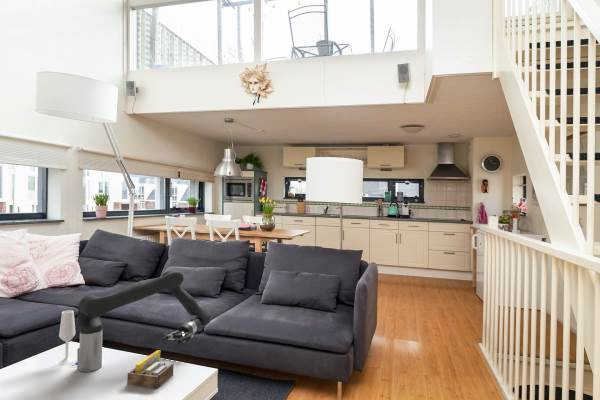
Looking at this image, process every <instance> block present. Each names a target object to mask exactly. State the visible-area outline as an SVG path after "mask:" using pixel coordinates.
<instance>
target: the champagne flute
mask: <svg viewBox="0 0 600 400" xmlns="http://www.w3.org/2000/svg"><path fill="white" fill-rule="evenodd" d="M74 313H75V312H74V310H72V309H70V310H69V309H68V310H64V311H62V312H61V319H60V324H59V325H60V326H59V334H58V337H59V339H61V340H62V341H63V342H65V354H64V355H65V357H64V358H63V359H61V360H60V361H58V365H70V364H73V362H75V360H76V359H74V358H72V357H69V342H70V341H71V340H72V339H74V337H75V335H76V324H75V314H74Z"/></svg>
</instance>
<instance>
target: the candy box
mask: <svg viewBox="0 0 600 400" xmlns="http://www.w3.org/2000/svg"><path fill="white" fill-rule="evenodd" d="M161 352H162V351H161V350H158V349H157V350H155V351H154V352H153V353H151V354H149V355H148V356H146V357H145V358H144V359H142V360H140V361H139V362H137V363H136V364H135V368H136V370H135V373H139V374H140V373H141V372H142V371H144V370H145V369H147V368H148V367H149V366H151V365H152V364H154V363H155V362H161Z"/></svg>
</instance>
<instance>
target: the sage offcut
mask: <svg viewBox="0 0 600 400" xmlns="http://www.w3.org/2000/svg"><path fill="white" fill-rule="evenodd" d="M160 365H161V361H160V362H156V363H154V364H153V365H151V366H150V367H149V368H147V369H146V374H147V375H149V373H151V372H152V371H153V370H155V369H156V368H157V367H159V366H160Z"/></svg>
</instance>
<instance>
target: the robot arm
mask: <svg viewBox="0 0 600 400" xmlns="http://www.w3.org/2000/svg"><path fill="white" fill-rule="evenodd" d="M184 278H185V277H184V274H183V272H181V271H179V270H167V271H164V272H163V273H162V275H161V276H160V277H155V278H149V279H144V280H139V281H135V282H133V283H130V284H126V285H125V286H124V287H122V288H121V289H119V290H118V291H116V292H114V293H112V294H109V295H105V296H98V295H97V296H96V295H93V294H89V295H85V296H84V297H83V298H81V299H80V301H79V304H78V307H77V323H78V328H79V347H78V348H77V351H76V352H77V357H76V362H77V363H76V368H77V369H76V370H78V371H79V372H83V373H88V372H93V371H97V370H99V369H100V368H101V367H102V366H103V330H104V329H103V328H104V327H103V322H102V320H101V317H100V316H103V315H104V314H105V315H106V314H107V313H109V312H111V311H113V310H115V309H118V308H121V307H124V306H127V305H129V304H132V303H135V302H138V301H141V300H143V299H144V300H145V299H146V298H148V297H151V296H153V295H156V294H158V293H161V292H163V291H166V290H168V291H169V292H170V293H171V294H172V295H173V296H174V297H175V299H177V301H178V302H179V303H180V305H182V307H183V308H184V310H185V311H186V313H188V315H189V316H191V317H192V318H191V319H189V320H188V321H186V322H184V323H183V324H182V325H180V326H179V327H177V329H176V330H175V331H173V332H172V330H168V331H167V332H165V333H164V334H162V336H163V337H162V338H161V343H164V344H165V343H166V342H167V341H169V340H171V341H173V340H177V345H181V344H182V343H184V342H186V343H188V342H190V341H191V340H192V339H193V338H194V334H196V332H198V331H199V329H200V328H201V327H204V326H207V325H209V324H210V323H211V319H212V318H211V315H210V314H209V313H208V312H207V311H206V310H205V309H204V308H202V307H201V306H200V305H199V304H198V302H197V300H196V299H195V298H194V297H193V296H192V295H191V294H190V293H188V292H187V291H186V290H185V289H184V288H183V287H182V286H181V285H182V283H183V282H184V280H185V279H184Z"/></svg>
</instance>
